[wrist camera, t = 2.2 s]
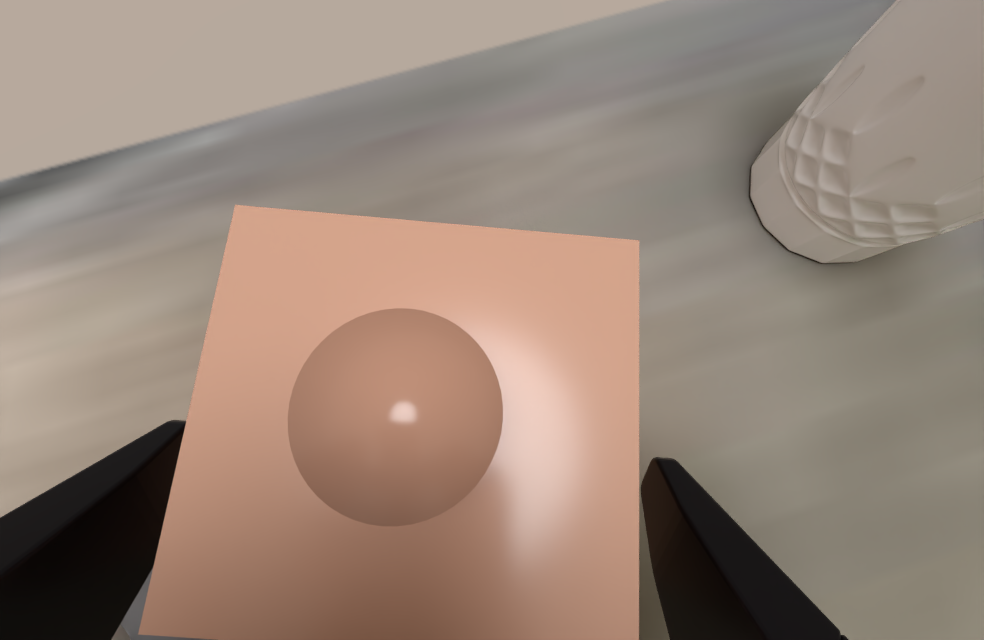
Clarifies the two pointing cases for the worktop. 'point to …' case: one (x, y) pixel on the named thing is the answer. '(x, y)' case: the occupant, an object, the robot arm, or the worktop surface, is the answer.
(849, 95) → the white cup
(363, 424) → the pink square bottle
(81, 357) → the worktop surface
